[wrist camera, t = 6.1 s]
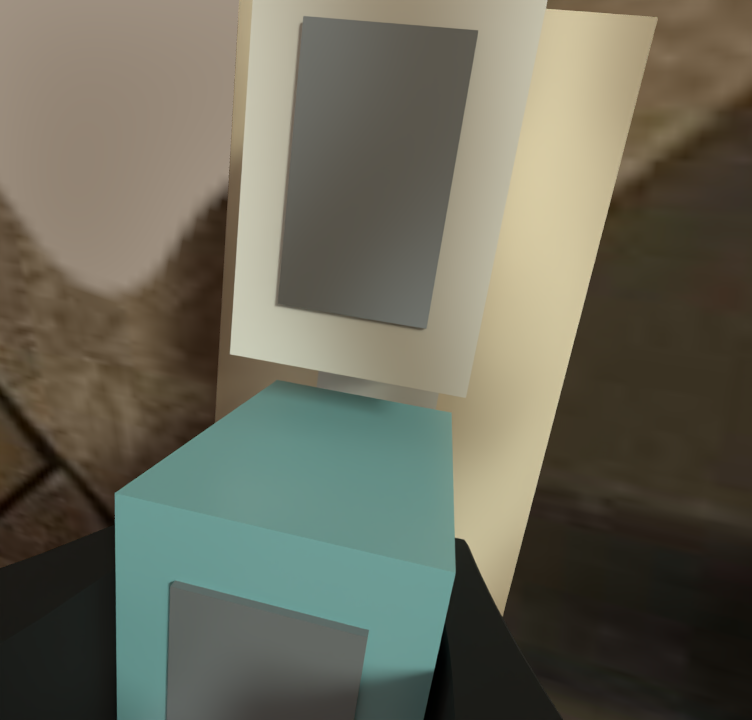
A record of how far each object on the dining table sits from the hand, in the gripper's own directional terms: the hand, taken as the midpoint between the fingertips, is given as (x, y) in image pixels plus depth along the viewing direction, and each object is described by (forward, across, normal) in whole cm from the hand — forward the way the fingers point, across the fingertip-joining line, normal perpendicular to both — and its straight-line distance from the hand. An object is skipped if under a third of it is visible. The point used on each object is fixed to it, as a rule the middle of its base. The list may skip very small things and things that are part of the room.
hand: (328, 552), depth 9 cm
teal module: (+2, 0, 0) cm, 2 cm away
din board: (+6, 0, 0) cm, 6 cm away
